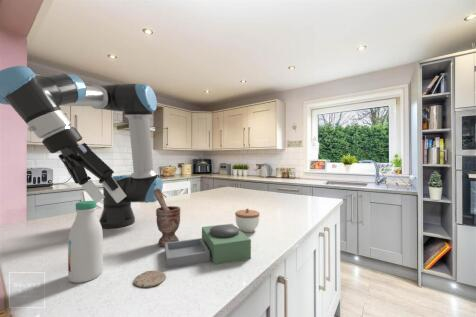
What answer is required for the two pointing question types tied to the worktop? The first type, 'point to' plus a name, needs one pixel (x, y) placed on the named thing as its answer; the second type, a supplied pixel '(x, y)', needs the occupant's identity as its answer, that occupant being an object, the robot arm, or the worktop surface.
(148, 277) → the flatbread
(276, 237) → the worktop surface
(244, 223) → the lidded jar
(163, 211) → the mortar and pestle
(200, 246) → the grey square tray
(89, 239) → the milk bottle
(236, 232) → the green box with dome
